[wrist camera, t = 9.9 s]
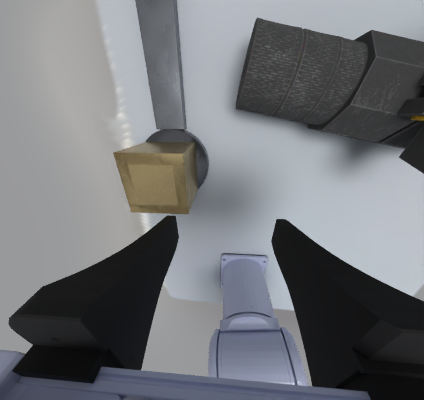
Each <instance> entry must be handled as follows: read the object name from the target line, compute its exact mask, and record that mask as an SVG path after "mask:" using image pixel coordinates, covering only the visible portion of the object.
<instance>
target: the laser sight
mask: <svg viewBox="0 0 424 400" xmlns="http://www.w3.org/2000/svg"><path fill="white" fill-rule="evenodd" d="M236 109H241V110H246V111H250V112H255V113H260V114H265V115H269V116H270V115H271V116H274V117H280V118H284V119H289V120H293V121H297V122H303V123H308V128H309V129H314V130H319V131H323V132H328V133H333V134H338V135H343V136H347V137H352V138H357V139H362V140H366V141H371V142H376V143H381V144H386V145H390V146H395V147H400V148H405V150H404V151H403V153H402V154H401V155H400V157H399V158H401V159H402V160H404V161H405V162H407V163H408V164H410V165H411V166H413V167H414V168H416V169H418V170H419V171H421V172H422V173H424V42H421V41H417V40H412V39H408V38H404V37H399V36H395V35H391V34H387V33H382V32H378V31H374V30H371V31H369V32H367V33H365V34H364V35H362V36H360V37H359V38H357V39H355V40H349V39H346V38H342V37H339V36H334V35H328V34H323V33H319V32H315V31H311V30H308V29H302V28H299V27H293V26H289V25H284V24H280V23H275V22H271V21H267V20H263V19H260V18H257V19H256V22H255V25H254V28H253V32H252V35H251V39H250V43H249V47H248V51H247V55H246V59H245V63H244V67H243V72H242V76H241V81H240V86H239V91H238V96H237V102H236Z"/></svg>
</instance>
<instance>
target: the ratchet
mask: <svg viewBox="0 0 424 400" xmlns="http://www.w3.org/2000/svg"><path fill="white" fill-rule="evenodd" d="M136 7H137V13H138V19H139V25H140V31H141V37H142V43H143V49H144V55H145V61H146V67H147V74H148V80H149V86H150V92H151V98H152V104H153V110H154V116H155V122H156V128H157V129H165V130H161V131H158V132H156V133H154V134H153V135H151V136H150V137H149V138H148V139H147V140H146V142H196V159H197V178H198V188H199V187H200V186H201V185H202V184H203V182H204V180H205V178H206V175H207V172H208V166H209V161H208V155H207V152H206V149H205V147H204V146H203V144H202V143H201V141H200V140H199V139H198V138H197V137H196V136H194V135H193V134H192V133H190V132H188V131H185V130H183V129H186V115H185V102H184V89H183V77H182V64H181V51H180V38H179V25H178V13H177V0H136Z"/></svg>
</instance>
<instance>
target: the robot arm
mask: <svg viewBox="0 0 424 400" xmlns="http://www.w3.org/2000/svg"><path fill="white" fill-rule="evenodd" d="M178 239H179V235H178V228H177V222H176V216H166V217H165V218H164V219H163V220H161V221H160V222H159V223H158V224H157V225H155V226H154V227H153V228H152V229H150V230H149V231H148V232H147V233H145V234H144V235H143V236H141V237H140V238H138V239H137V240H136V241H134V242H133V243H132V244H130V245H129V246H127V247H125V248H124V249H122V250H121V251H119V252H117V253H115V254H113V255H112V256H110V257H108V258H106V259H104V260H102V261H101V262H99V263H97V264H95V265H92V266H90V267H88V268H86V269H84V270H82V271H80V272H77V273H75V274H73V275H71V276H68V277H66V278H63V279H61V280H58V281H56V282H53V283H51V284H48V285H46V286H43V287H42V288H41V289H40V290H39V291H37V292H36V293H35V294H34V296H32V297H31V298H30V299H29V300H28V301H27V302H26V303H25V304H24V305H23V306H22V307H21V308H19V309H18V310H17V311H16V312H15V313H14V314H13V315H12V316H11V317H10V318H9V325H10V327H11V329H13V330H14V331H15V332H16V333H17V334H19V335H20V336H22V337H23V338H24V339H26V340H27V341H28V342H30V343H31V344H33V346H32V347H31V348H30V350H29V351H28V352H27V353H26V354H24V353H21V352H17V351H7V350H0V400H424V301H421V300H419V299H417V298H415V297H412V296H410V295H408V294H406V293H404V292H401V291H399V290H397V289H395V288H393V287H391V286H389V285H387V284H385V283H383V282H381V281H379V280H377V279H375V278H373V277H371V276H369V275H367V274H365V273H364V272H362V271H360V270H358V269H356V268H354V267H353V266H351V265H349V264H348V263H346V262H344V261H343V260H341V259H339V258H338V257H336V256H335V255H333V254H331V253H330V252H328V251H327V250H326V249H324V248H323V247H321V246H320V245H318V244H317V243H316V242H314V241H313V240H312V239H310V238H309V237H308V236H306V235H305V234H304V233H303V232H301V231H300V230H299V229H297V228H296V227H295V226H294V225H292V224H291V223H290V222H289V221H287V220H286V219H277V220H276V224H275V228H274V232H273V236H272V240H271V242H272V246H273V250H274V254H275V257H276V259H277V262H278V264H279V267H280V269H281V272H282V274H283V277H284V279H285V282H286V284H287V287H288V290H289V293H290V296H291V299H292V303H293V306H294V310H295V313H296V317H297V321H298V324H299V328H300V333H301V336H302V341H303V345H304V349H305V353H306V358H307V362H308V367H309V371H310V376H311V381H312V386H313V387H312V386H308V383H307V379H306V375H305V372H304V368H303V364H302V361H301V357H300V354H299V351H298V348H297V346H296V343H295V340H294V338H293V336H292V334H291V333H290V332H289V331H288V330H287V329H286V328H285V327H280V326H279V322H278V319H277V318H275V316H274V312H273V308H272V304H271V300H270V296H269V292H268V289H267V285H266V281H265V277H264V274H265V270H266V266H267V262H268V257H267V256H253V255H231V254H223V255H222V256H221V285H220V287H221V288H223V320H221V321H220V329H216V330H215V332H214V334H213V335H212V337H211V341H210V347H209V359H208V360H209V361H208V373H209V377H205V376H195V375H184V374H173V373H162V372H152V371H141V368H142V363H143V359H144V354H145V350H146V345H147V341H148V337H149V333H150V329H151V325H152V320H153V316H154V313H155V309H156V305H157V301H158V298H159V294H160V291H161V287H162V284H163V281H164V279H165V276H166V273H167V271H168V268H169V266H170V263H171V261H172V258H173V256H174V253H175V250H176V247H177V243H178Z"/></svg>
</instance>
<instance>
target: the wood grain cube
mask: <svg viewBox="0 0 424 400" xmlns="http://www.w3.org/2000/svg"><path fill="white" fill-rule="evenodd" d="M113 154H114V157H115V160H116V163H117V167H118V170H119V173H120V176H121V180H122V183H123V186H124V189H125V193H126V196H127V199H128V203H129V206H130V209H131V212H141V213H170V214H189V212H190V209H191V206H192V203H193V200H194V198H195V195H196V192H197V189H198V178H197V159H196V142H145V143H142V144H139V145H136V146H133V147H130V148H127V149H123V150H120V151H117V152H114V153H113Z"/></svg>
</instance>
